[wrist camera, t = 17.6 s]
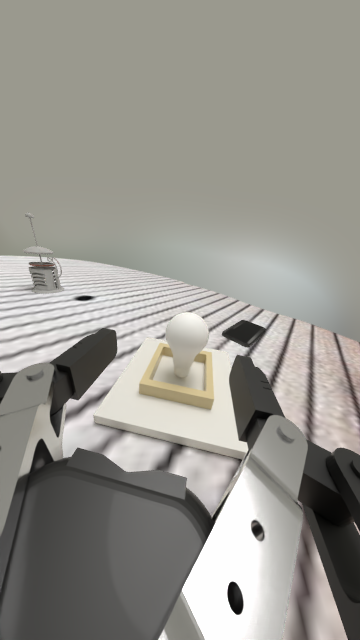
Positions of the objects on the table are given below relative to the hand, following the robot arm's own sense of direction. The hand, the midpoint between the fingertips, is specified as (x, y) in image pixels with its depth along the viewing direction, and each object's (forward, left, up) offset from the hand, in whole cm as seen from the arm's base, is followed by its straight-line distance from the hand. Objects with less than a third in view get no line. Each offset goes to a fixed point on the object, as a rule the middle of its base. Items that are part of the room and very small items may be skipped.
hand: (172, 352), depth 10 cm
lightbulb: (0, +11, -13) cm, 17 cm away
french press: (-56, +42, -14) cm, 71 cm away
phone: (+16, +34, -15) cm, 40 cm away
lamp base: (0, +11, -14) cm, 18 cm away
